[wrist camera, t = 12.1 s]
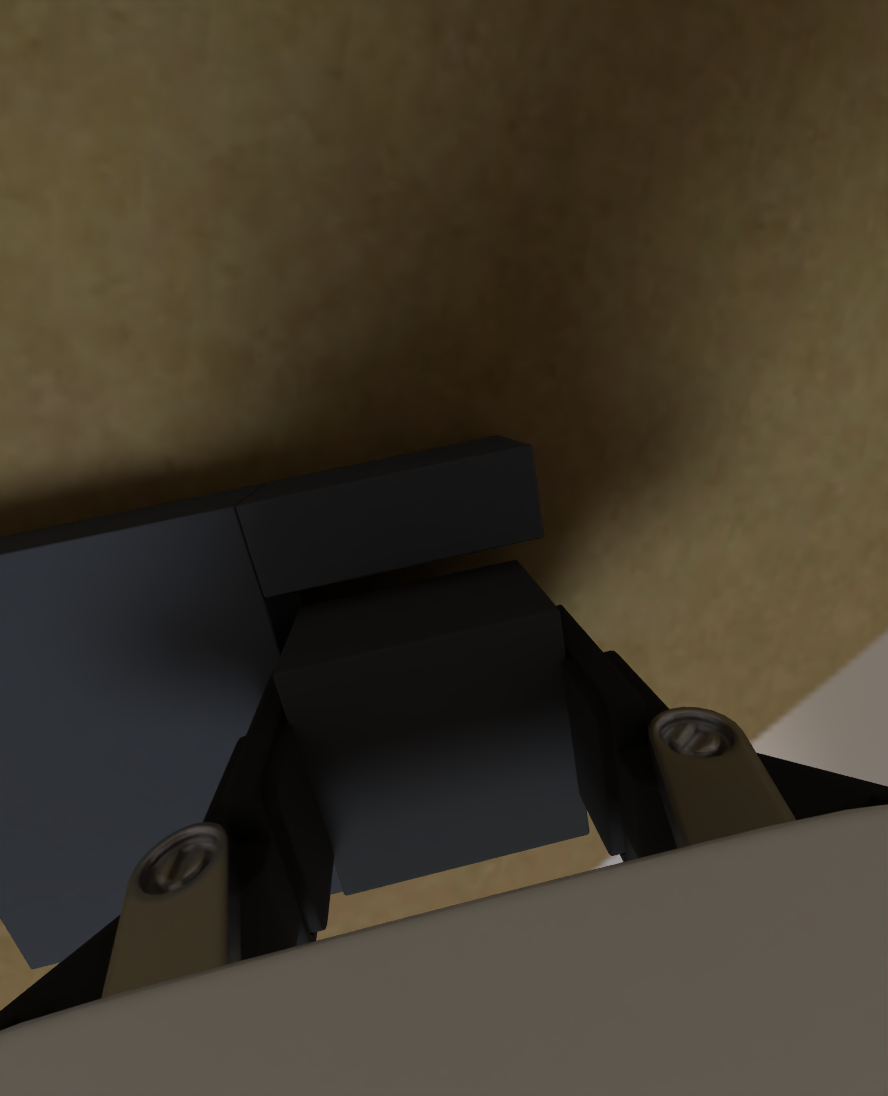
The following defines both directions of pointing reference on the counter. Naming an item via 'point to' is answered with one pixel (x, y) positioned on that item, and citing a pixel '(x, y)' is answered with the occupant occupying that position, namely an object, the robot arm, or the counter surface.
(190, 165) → the counter surface
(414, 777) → the small pad
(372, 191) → the counter surface
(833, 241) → the counter surface
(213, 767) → the large pad
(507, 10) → the counter surface
